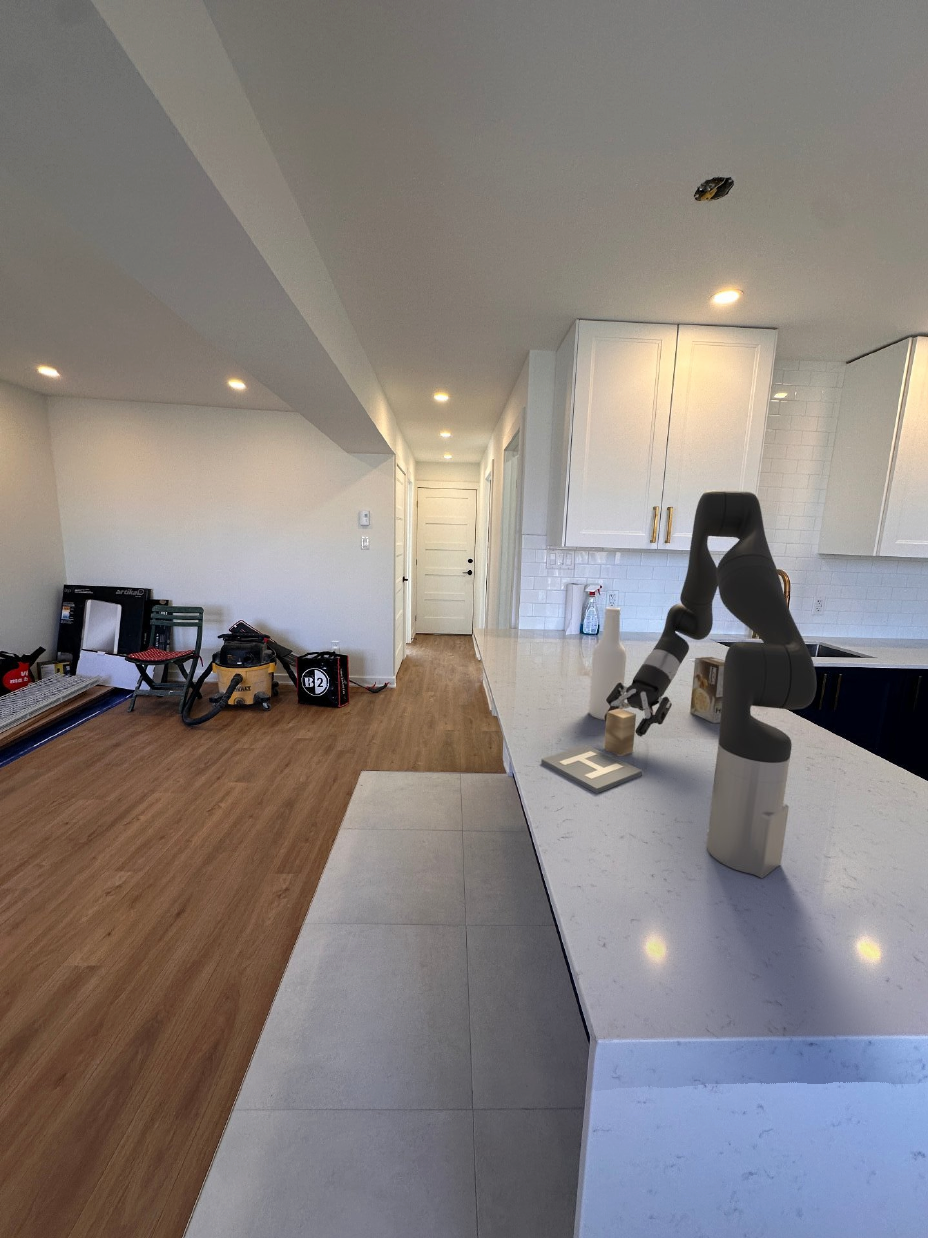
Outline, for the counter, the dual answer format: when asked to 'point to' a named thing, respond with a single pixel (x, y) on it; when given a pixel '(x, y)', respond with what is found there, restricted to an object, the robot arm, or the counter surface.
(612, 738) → the oak block
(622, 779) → the letter board
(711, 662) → the coffee box
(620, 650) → the alcohol
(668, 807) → the counter surface
